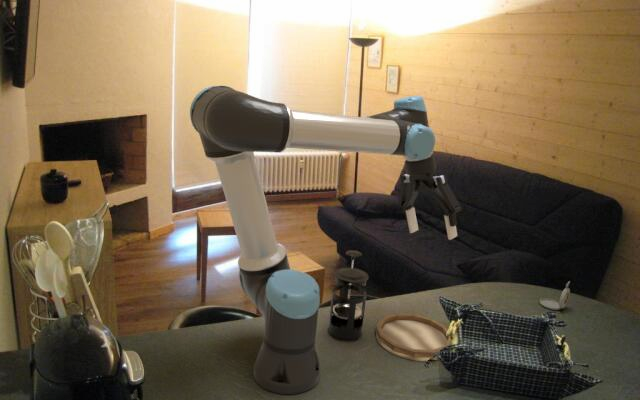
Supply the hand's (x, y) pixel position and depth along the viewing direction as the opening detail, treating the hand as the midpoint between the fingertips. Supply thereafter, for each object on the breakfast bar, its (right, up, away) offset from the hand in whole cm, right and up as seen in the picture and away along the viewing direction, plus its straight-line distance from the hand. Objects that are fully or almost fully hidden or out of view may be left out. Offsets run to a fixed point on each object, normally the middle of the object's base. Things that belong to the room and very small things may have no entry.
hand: (432, 234), depth 140 cm
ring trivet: (-5, -28, 0) cm, 29 cm away
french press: (-23, -26, +2) cm, 35 cm away
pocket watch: (+44, -25, +28) cm, 58 cm away
